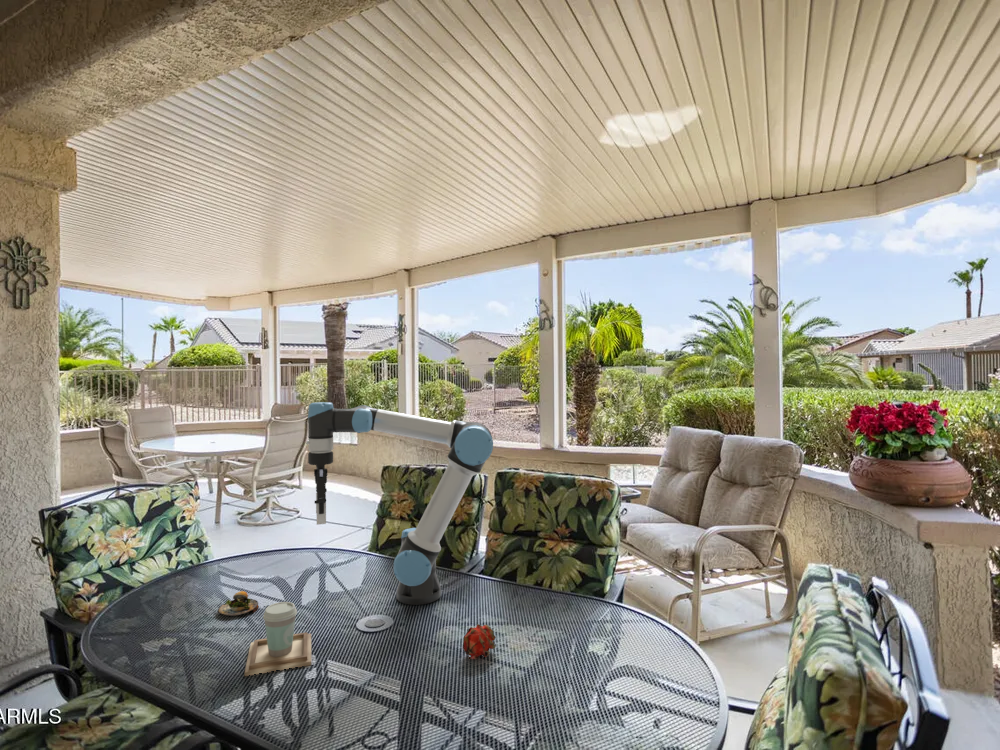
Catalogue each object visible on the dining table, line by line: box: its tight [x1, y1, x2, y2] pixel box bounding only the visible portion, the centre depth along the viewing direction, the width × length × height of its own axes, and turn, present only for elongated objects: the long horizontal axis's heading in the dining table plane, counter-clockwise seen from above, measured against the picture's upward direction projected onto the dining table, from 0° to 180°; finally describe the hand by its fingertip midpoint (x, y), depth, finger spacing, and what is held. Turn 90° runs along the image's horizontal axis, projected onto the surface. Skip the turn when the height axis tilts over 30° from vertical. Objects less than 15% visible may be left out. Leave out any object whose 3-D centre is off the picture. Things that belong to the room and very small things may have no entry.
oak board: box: [244, 632, 312, 677], centre depth 148 cm, size 16×16×2 cm
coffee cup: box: [262, 601, 298, 657], centre depth 148 cm, size 8×8×12 cm
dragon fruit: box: [462, 623, 497, 661], centre depth 148 cm, size 8×8×12 cm
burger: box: [217, 587, 260, 616], centre depth 175 cm, size 12×12×8 cm
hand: (320, 518), depth 172 cm, fingers open, 13 cm apart
